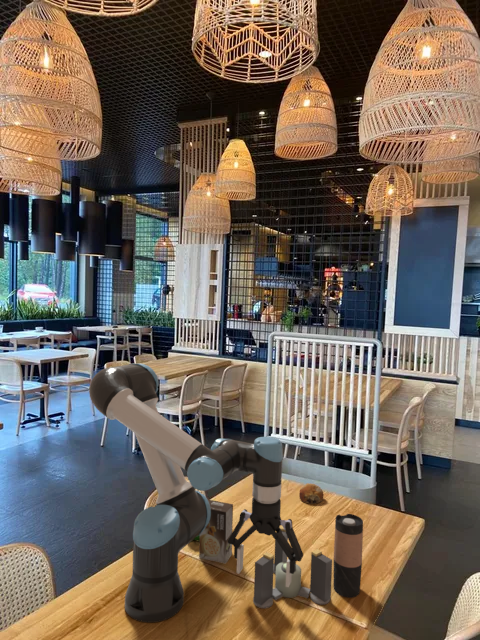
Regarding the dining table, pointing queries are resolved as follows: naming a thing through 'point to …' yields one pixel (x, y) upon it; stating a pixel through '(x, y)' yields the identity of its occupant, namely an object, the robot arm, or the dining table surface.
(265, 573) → the dark grey upright block
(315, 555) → the grey post tan tip
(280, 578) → the tribrach hub
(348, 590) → the travel mug
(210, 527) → the coffee box
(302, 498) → the bread roll
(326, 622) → the dining table surface
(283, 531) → the grey block tan end
